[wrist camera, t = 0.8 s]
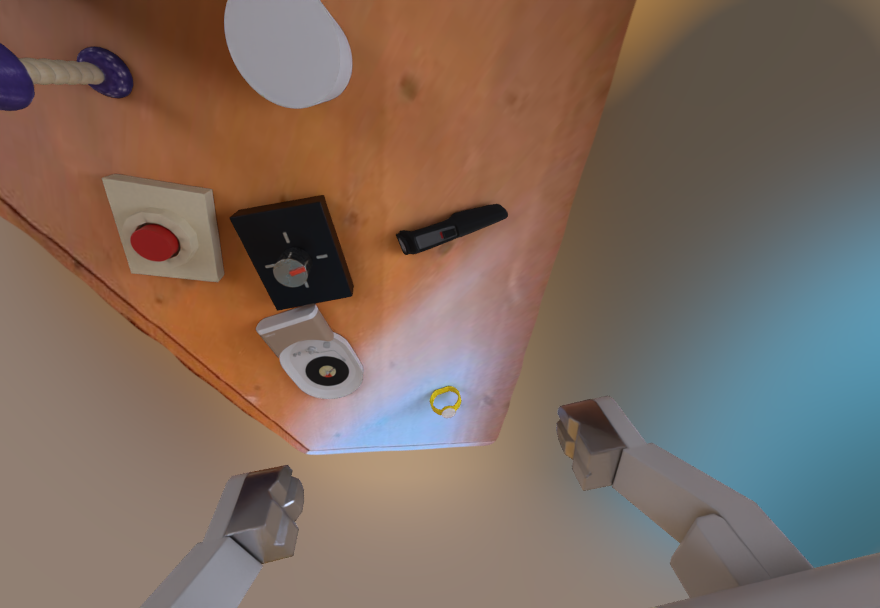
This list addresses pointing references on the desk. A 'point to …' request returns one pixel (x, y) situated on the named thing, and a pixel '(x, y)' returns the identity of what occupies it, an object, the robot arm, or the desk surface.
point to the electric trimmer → (450, 228)
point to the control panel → (300, 228)
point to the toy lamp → (61, 75)
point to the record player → (312, 352)
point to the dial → (293, 267)
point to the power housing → (168, 225)
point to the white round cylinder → (288, 50)
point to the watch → (448, 410)
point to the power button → (154, 242)
